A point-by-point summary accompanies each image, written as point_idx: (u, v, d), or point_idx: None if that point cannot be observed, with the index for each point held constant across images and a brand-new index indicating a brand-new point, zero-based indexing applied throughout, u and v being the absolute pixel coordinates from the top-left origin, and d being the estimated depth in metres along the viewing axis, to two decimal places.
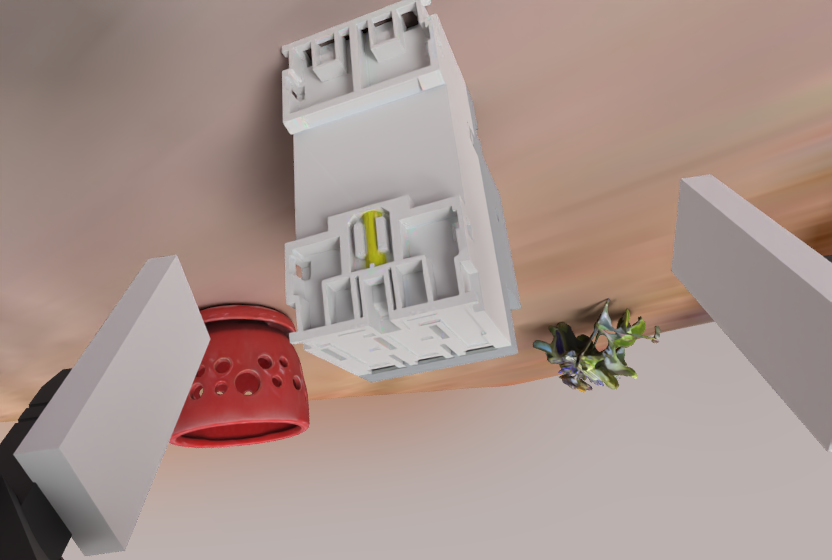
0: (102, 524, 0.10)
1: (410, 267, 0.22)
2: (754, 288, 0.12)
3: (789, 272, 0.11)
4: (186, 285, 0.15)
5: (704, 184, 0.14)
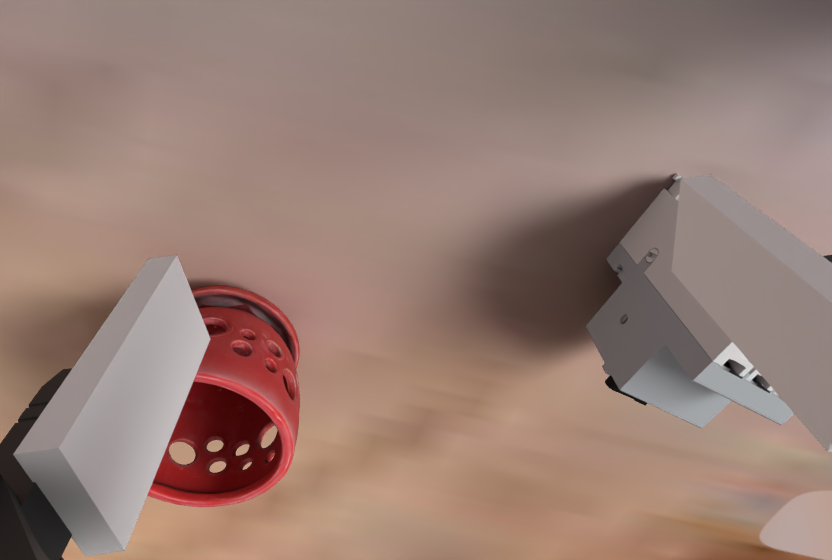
0: (102, 524, 0.10)
1: None
2: (754, 288, 0.12)
3: (789, 272, 0.11)
4: (186, 285, 0.15)
5: (704, 184, 0.14)
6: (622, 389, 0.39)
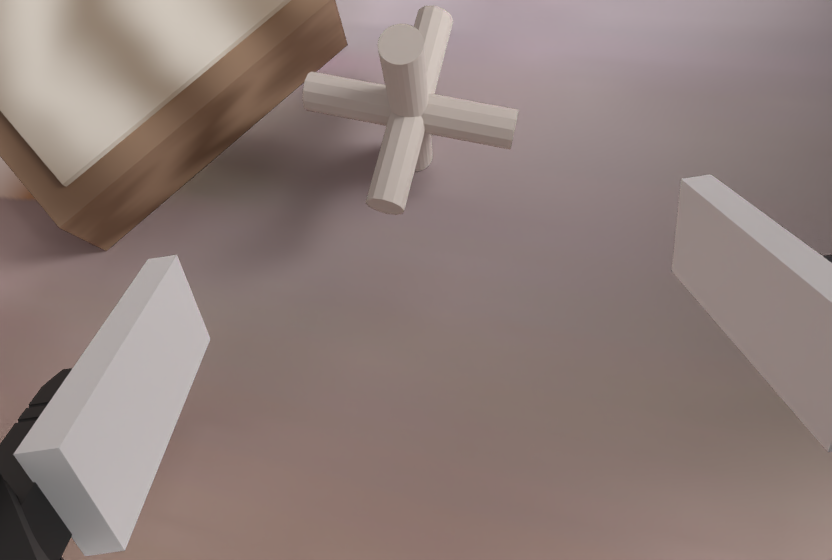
0: (102, 524, 0.10)
1: None
2: (754, 288, 0.12)
3: (789, 272, 0.11)
4: (186, 285, 0.15)
5: (704, 184, 0.14)
6: None
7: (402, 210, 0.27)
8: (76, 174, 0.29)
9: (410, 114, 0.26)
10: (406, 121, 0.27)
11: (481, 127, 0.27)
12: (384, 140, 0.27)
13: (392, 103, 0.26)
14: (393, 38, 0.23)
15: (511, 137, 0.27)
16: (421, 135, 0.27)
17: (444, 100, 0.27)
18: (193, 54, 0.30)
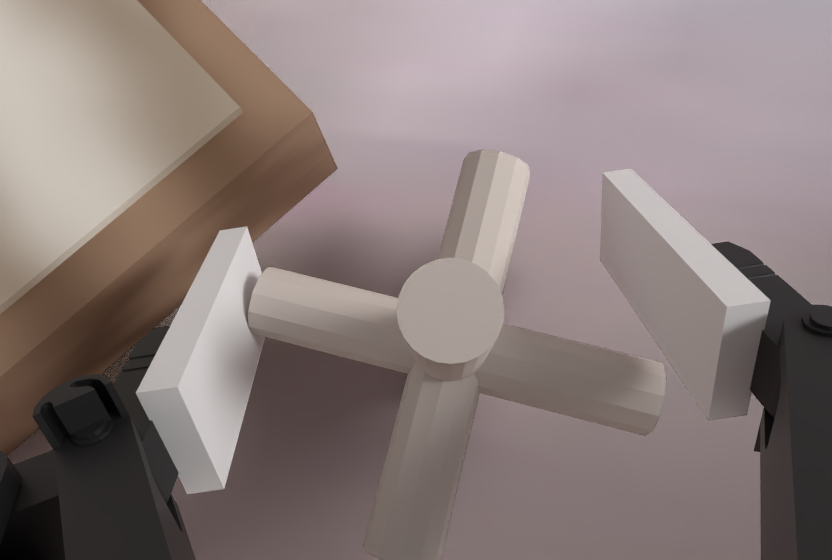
0: (206, 462, 0.11)
1: None
2: (655, 272, 0.13)
3: (677, 256, 0.12)
4: (254, 256, 0.16)
5: (622, 177, 0.15)
6: None
7: None
8: None
9: (455, 380, 0.13)
10: (446, 390, 0.14)
11: (593, 405, 0.14)
12: (403, 422, 0.14)
13: (420, 365, 0.13)
14: (433, 294, 0.10)
15: (652, 426, 0.14)
16: (473, 408, 0.14)
17: (520, 344, 0.14)
18: (62, 215, 0.17)
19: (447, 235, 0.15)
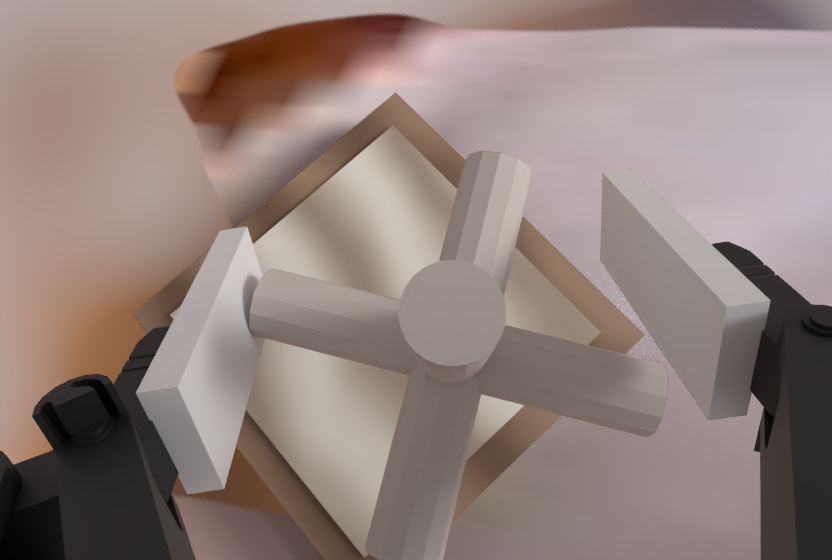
0: (206, 462, 0.11)
1: None
2: (655, 272, 0.13)
3: (677, 256, 0.12)
4: (254, 256, 0.16)
5: (622, 177, 0.15)
6: None
7: None
8: None
9: (456, 381, 0.13)
10: (448, 392, 0.14)
11: (595, 406, 0.14)
12: (404, 425, 0.14)
13: (422, 367, 0.13)
14: (435, 296, 0.10)
15: (654, 427, 0.13)
16: (475, 409, 0.14)
17: (522, 345, 0.14)
18: (496, 402, 0.28)
19: (448, 236, 0.15)
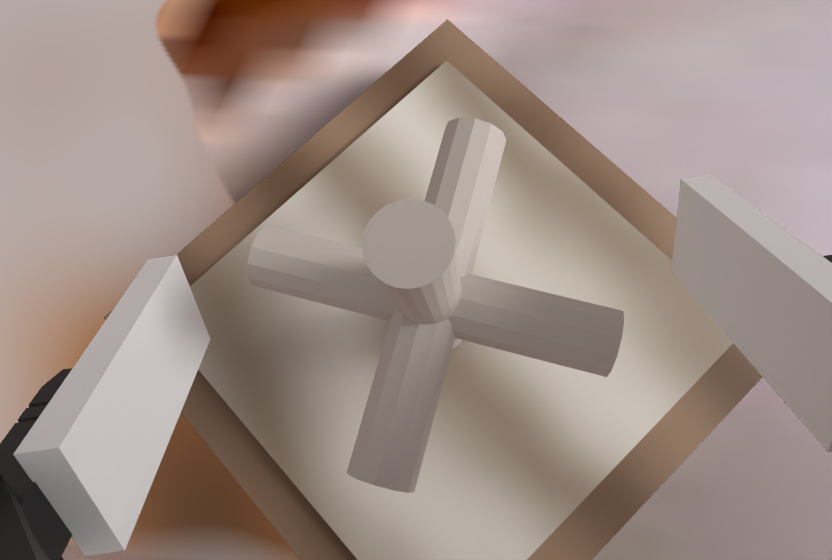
0: (102, 524, 0.10)
1: None
2: (754, 288, 0.12)
3: (789, 272, 0.11)
4: (186, 285, 0.15)
5: (704, 184, 0.14)
6: None
7: None
8: None
9: (429, 322, 0.15)
10: (421, 332, 0.15)
11: (556, 346, 0.15)
12: (383, 362, 0.15)
13: (396, 307, 0.14)
14: (394, 230, 0.11)
15: (610, 366, 0.15)
16: (448, 350, 0.15)
17: (490, 292, 0.15)
18: (610, 427, 0.20)
19: (427, 195, 0.16)
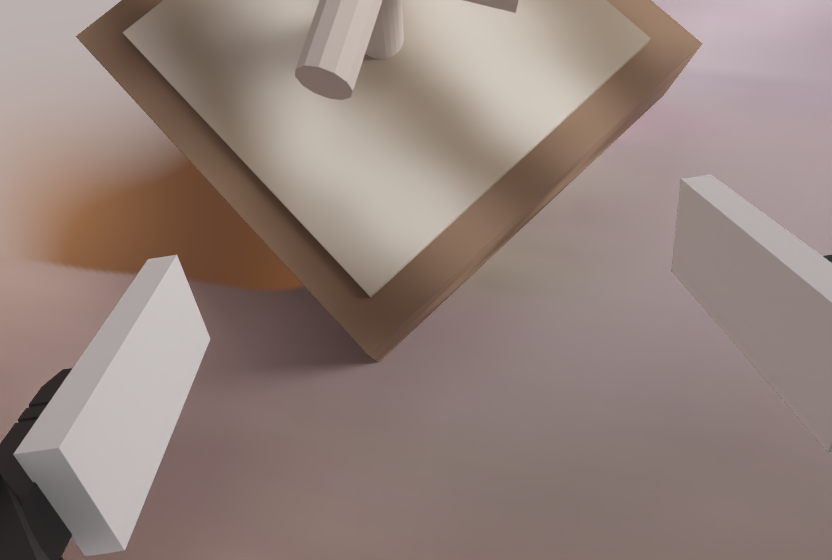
0: (102, 524, 0.10)
1: None
2: (754, 288, 0.12)
3: (789, 272, 0.11)
4: (186, 285, 0.15)
5: (704, 184, 0.14)
6: None
7: (350, 90, 0.18)
8: (386, 281, 0.22)
9: None
10: None
11: None
12: None
13: None
14: None
15: None
16: None
17: None
18: (527, 118, 0.23)
19: None
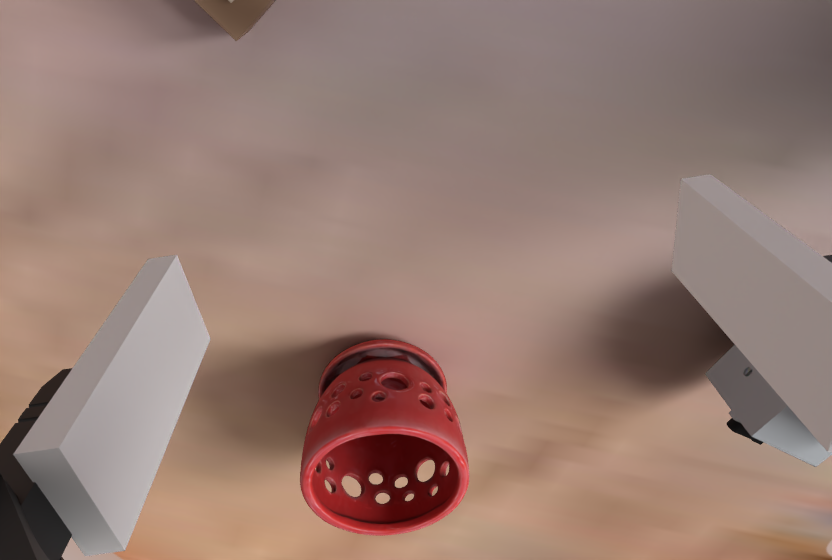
0: (102, 524, 0.10)
1: None
2: (754, 288, 0.12)
3: (789, 272, 0.11)
4: (186, 285, 0.15)
5: (704, 184, 0.14)
6: (753, 435, 0.45)
7: None
8: None
9: None
10: None
11: None
12: None
13: None
14: None
15: None
16: None
17: None
18: None
19: None
